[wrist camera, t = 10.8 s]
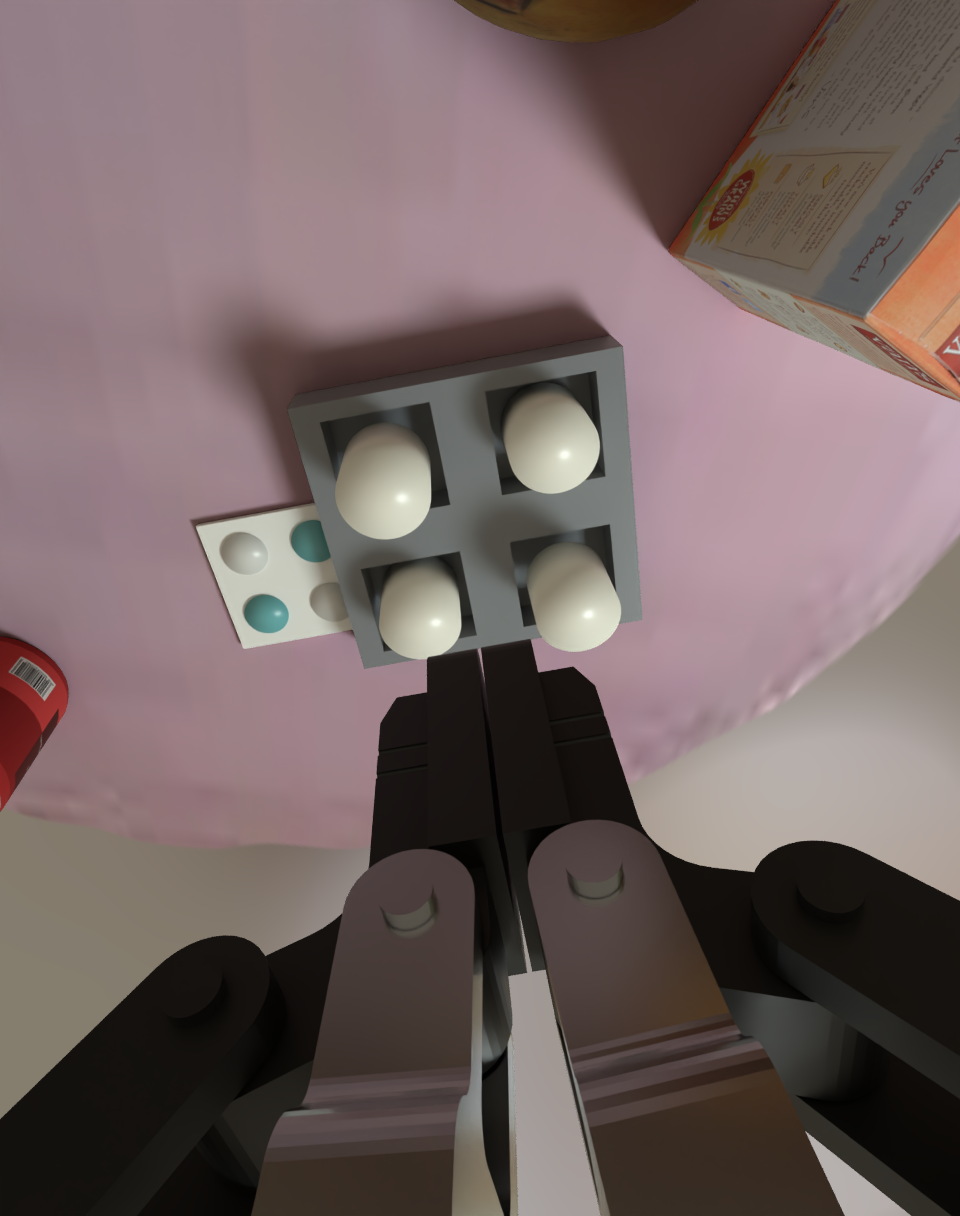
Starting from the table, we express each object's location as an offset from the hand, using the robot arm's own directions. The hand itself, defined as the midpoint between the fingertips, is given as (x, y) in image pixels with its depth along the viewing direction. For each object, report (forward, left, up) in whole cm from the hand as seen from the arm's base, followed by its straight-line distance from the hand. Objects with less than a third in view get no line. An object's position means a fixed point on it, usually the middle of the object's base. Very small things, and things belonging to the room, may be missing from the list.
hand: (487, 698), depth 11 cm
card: (-12, -14, -35) cm, 40 cm away
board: (0, -12, -35) cm, 37 cm away
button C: (-5, -16, -34) cm, 38 cm away
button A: (-5, -7, -32) cm, 33 cm away
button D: (+4, -16, -32) cm, 36 cm away
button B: (+4, -7, -34) cm, 35 cm away
